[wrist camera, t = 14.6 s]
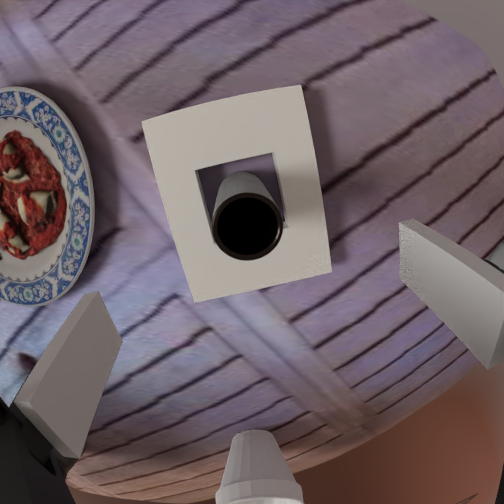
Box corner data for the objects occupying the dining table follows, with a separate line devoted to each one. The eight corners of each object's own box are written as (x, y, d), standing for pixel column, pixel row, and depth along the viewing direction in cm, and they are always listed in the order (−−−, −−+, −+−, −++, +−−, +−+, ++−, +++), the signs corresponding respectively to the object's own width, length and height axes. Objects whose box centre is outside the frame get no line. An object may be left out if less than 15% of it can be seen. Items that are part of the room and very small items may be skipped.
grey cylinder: (241, 227, 30) (246, 274, 20) (207, 195, 29) (196, 228, 19) (275, 195, 29) (298, 228, 19) (242, 161, 28) (248, 176, 18)
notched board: (326, 263, 32) (331, 271, 30) (196, 292, 32) (194, 302, 30) (296, 88, 25) (300, 84, 23) (147, 122, 25) (141, 121, 24)
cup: (294, 450, 46) (307, 515, 33) (226, 460, 46) (228, 525, 33) (286, 412, 41) (301, 491, 28) (205, 425, 41) (203, 502, 28)
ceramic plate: (42, 42, 21) (28, 37, 18) (148, 237, 30) (140, 248, 27) (-65, 176, 24) (-78, 181, 21) (16, 324, 33) (6, 336, 30)
